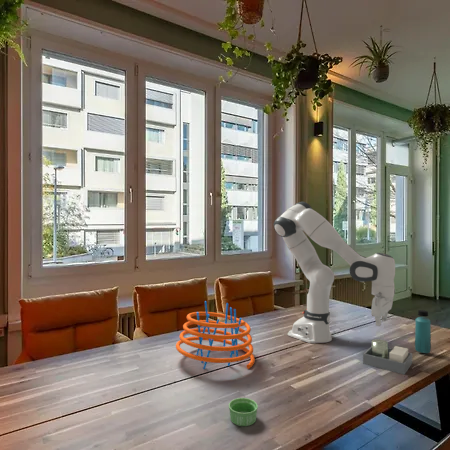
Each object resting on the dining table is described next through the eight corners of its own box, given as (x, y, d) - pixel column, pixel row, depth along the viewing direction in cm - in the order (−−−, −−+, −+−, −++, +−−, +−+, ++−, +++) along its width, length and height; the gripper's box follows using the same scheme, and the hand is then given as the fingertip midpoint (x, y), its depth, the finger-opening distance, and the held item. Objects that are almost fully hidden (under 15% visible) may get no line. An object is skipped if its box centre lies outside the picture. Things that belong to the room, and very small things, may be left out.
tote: (362, 365, 147) (363, 353, 147) (372, 355, 158) (373, 344, 158) (404, 376, 137) (404, 364, 137) (412, 365, 148) (412, 353, 148)
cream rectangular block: (389, 368, 143) (389, 352, 143) (395, 360, 151) (395, 345, 150) (402, 372, 140) (402, 356, 139) (408, 364, 147) (408, 348, 147)
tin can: (369, 361, 149) (369, 342, 149) (375, 357, 154) (374, 338, 154) (385, 365, 145) (384, 345, 145) (390, 361, 150) (389, 341, 150)
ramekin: (232, 409, 114) (233, 395, 113) (260, 413, 111) (260, 400, 111) (225, 424, 105) (225, 410, 105) (254, 430, 102) (254, 415, 102)
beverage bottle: (433, 357, 157) (434, 313, 156) (417, 355, 158) (417, 312, 158) (427, 351, 163) (428, 309, 163) (412, 350, 165) (413, 308, 164)
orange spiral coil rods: (205, 342, 176) (210, 295, 177) (267, 363, 157) (273, 310, 158) (157, 359, 147) (164, 303, 148) (227, 387, 128) (234, 323, 129)
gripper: (384, 296, 139) (382, 330, 139) (396, 288, 155) (394, 319, 156) (368, 293, 143) (366, 327, 143) (381, 286, 159) (379, 316, 159)
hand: (381, 323), depth 150 cm, fingers open, 8 cm apart
